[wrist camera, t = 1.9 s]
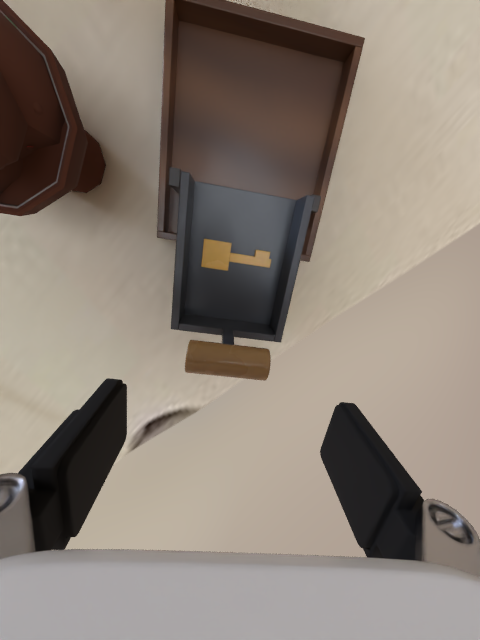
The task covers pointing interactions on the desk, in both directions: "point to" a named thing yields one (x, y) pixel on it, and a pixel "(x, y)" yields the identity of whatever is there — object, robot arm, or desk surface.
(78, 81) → the desk surface
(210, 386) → the desk surface
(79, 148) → the ice cream bowl
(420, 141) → the desk surface
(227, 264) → the key
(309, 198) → the scoop
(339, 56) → the tray
